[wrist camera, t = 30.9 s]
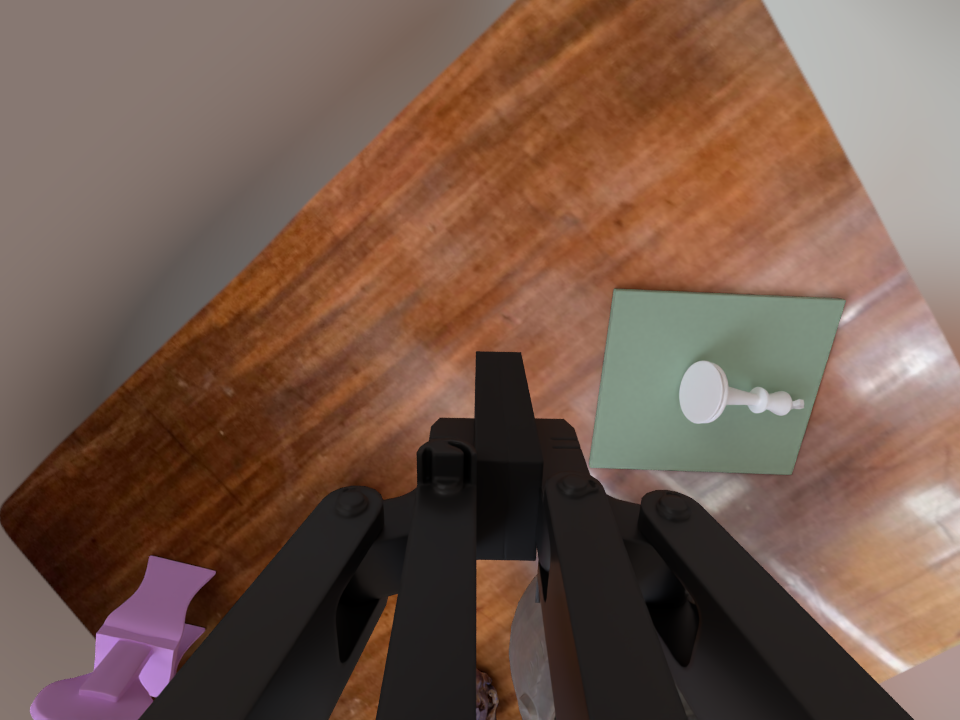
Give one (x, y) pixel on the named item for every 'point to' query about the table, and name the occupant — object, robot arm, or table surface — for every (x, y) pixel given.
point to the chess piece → (725, 395)
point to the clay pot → (537, 661)
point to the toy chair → (132, 650)
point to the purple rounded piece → (485, 697)
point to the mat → (731, 345)
